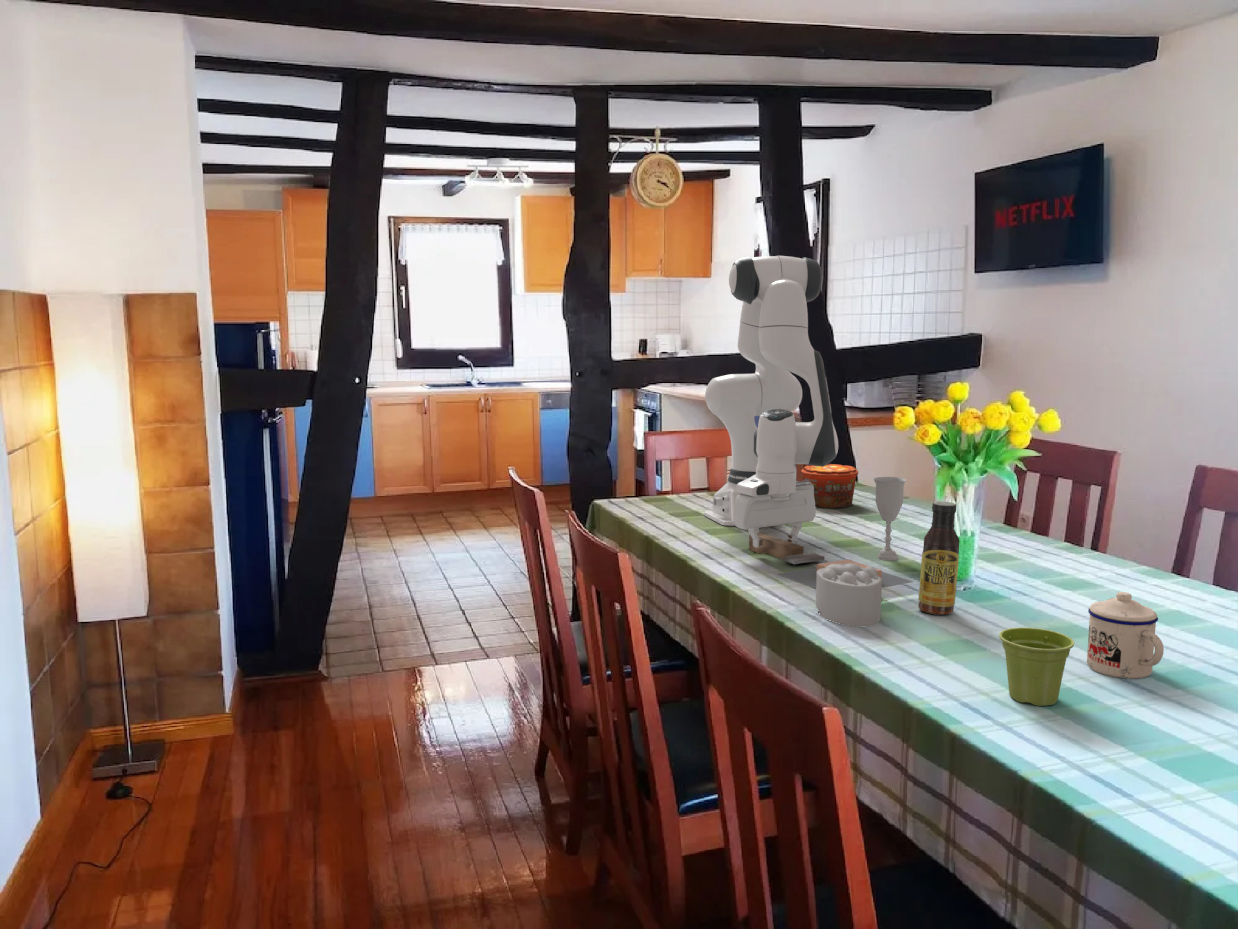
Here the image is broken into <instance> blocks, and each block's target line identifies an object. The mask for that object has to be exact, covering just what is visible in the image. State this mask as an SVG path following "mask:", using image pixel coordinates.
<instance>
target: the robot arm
mask: <svg viewBox="0 0 1238 929" xmlns="http://www.w3.org/2000/svg"><path fill="white" fill-rule="evenodd" d="M728 276H729V277H728V285H729V288H730V293H731V295H732V296H733V297H734V298H735V299H736V300H738V301H741V302H742V306H741V310H740V311H741V312H740V320H739V327H738V328H739V331H738V336H737V338H738V339H737V349H738V352H739V354H740V355H741V356H742V357H743V358H744V359H746V360H747V361H749V362H751V363H752V364H755V370H754V371H755V372H754V373H731V374H730V373H729V374H726V375H720V376H717V377H713V378H712V379H711V380H710V381H709V382H708V384H707V386H706V389H705V391H704V392H705V394H704V400H705V404H706V406H707V407H708V409H709V411H710V412H711V413H712V414H713V415H715V416H716V417H717V418H718V419H719V420H720V421H721V422H722V423H723V425H724V426H725V428H726V430H727V432H728V436H729V439H730V445H731V446H730V447H731V468H730V469H726V471H727V472H726V475H728V477H727V482H725V484H724V485H723V486H722V487H721V488H720V489H719V490H717V492H715V493H714V494H713V498H712V509H708V510H705V511H703V516H705V517H706V518H709V519H710V520H712V521H714V522H716V523H718V524H719V525H720V526H721V525H722V526H728V527H729V526H731V527H732V526H733V527H734V526H735V527H737V528H738V529H741V530H748V534H750V535H751V537H752V539H753V546H754V547H756V548H757V547H762V546H763V544H762V543H763V539H760V538H759V537H758V534H757V533H758V532H760V528H767V527H775V526H783V525H790V526H792V527H791V530H790V533H787V534H786V535H787V538H786V539H787V540H786V541H788V542H791V543H797V541H798V535H799V533H800V531H801V529H802V524H803V523H806V522H811V521H812V522H813V521H814V520H815V517H817V516H816V515H817V514H816V513H817V511H816V507H815V499H814V486H813V485H812V483H810V482H809V481H807V480H804V479H803V480H801V481H800V480H799V481H798V480H797V466H796V465H808V466H811V465H813V466H821V467H824V466H825V465H829V464H831V462H833V461H834V460H836V457H837V454H838V450H839V439H838V435H837V431H836V427H835V425H834V421H833V415H832V407H831V401H830V394H829V387H828V382H827V376H826V375H827V374H826V370H825V365H824V360H823V358H822V355H821V352H820V351H818V350H816V349H814V347H813V346H812V344H811V341H810V337H809V332H808V331H809V315H808V314H809V312H808V306H807V305H808V304H807V303H809V302H812V301H814V300H815V299H816V298H817V297H819V295H820V292H821V289H822V287H823V286H822V285H823V271H822V267H821V265H820V263H819V262H818V261H817V260H815V259H812V258H808V257H802V258H800V257H795V256H787V255H786V256H785V255H775V256H773V255H770V256H768V255H767V256H766V255H765V256H763V255H762V256H755V257H752V256H751V255H750V256H749V255H748V256H743V257H738V258H737V259H736V260H735V261H734V262H733V264H732V266H731V269H730V271H729V275H728ZM792 373H793V374H795V375H797V376H799V377H800V378H802V379H803V380H805V382H806V383H807V385H808V387H809V390H810V397H811V402H812V410H813V416H814V418H813V420H812V421H807V422H805V421H796V419H795V418H796V417H795V414H794V412H795V411H796V410H797V409H798V407H800V405H801V402H802V400H803V388H802V384H801V383H800V380H798V379H797V377H796V376H795V375H793V374H792ZM755 417H759V419H758V424H757V425H756V421H755ZM808 484H810V485H808Z"/></svg>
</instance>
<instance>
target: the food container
mask: <svg viewBox="0 0 1238 929" xmlns="http://www.w3.org/2000/svg"><path fill="white" fill-rule="evenodd" d="M800 471H801V472H800V474H801V475H803V481H804V480H807V481H809V482H810V483H812V485H813V486H814V499H815V508H822V509H844V508H848V507H851V506H852V505H853V499H854V493H855V486H856V481H857V480H856V479H857V475H859V471H858V469H857V468H856V467H854V466H851V465H842V464H835V463H833V464H832V463H829V464H827V465H825V466H824V467H821V466H813V465H805V466H804V467H803V468H802V469H801V470H800ZM808 485H810V484H808Z"/></svg>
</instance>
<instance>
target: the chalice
mask: <svg viewBox="0 0 1238 929" xmlns="http://www.w3.org/2000/svg"><path fill="white" fill-rule="evenodd" d="M873 481H874V483H875V499H874V501H875V504H876V508H877V511H878V513H879V515H880V518H881V520H882V521H884V522H885V525H886V527H885V529H884V531H885V534H886V535H885V537H883V539H884V541H885V545H884V548H882V549H880V550H879V551H878V554H877V557H876V558H877V559H878V560H881V561H882V560H883V561H896V560H899V558H898V557H899V556H898V555H897V552H896V550H895V549H892V547H891V541H892V540H893V538H892V537H891V533H892V531H893V530H892V527H891V526H892V525H891V524H892V522H894V521H896V519H897V517H898V515H899V513H900V512H901V509H902V506H903V504H904V487H905V484H906V482H907V479H906V478H903V477H896V476H877V477H874V478H873Z"/></svg>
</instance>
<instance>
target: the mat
mask: <svg viewBox="0 0 1238 929" xmlns="http://www.w3.org/2000/svg"><path fill="white" fill-rule="evenodd" d="M777 575H779V576H781V577H783V578H786V579H789V580H791V581H794V582H796V583H799V584H802V585H805V586H807V587H809V588H813V589H815V590H816V578H817V567H813V568H806V569H799V570H794V571H792V570H791V571H787V572H781V573H777ZM881 579H882V588H887V587H892V586H897V585H903V584H908V583H909V584H910V583H913V582H914V581H913V580H910V579H906V578H903V577H901V576H897V575H895V574H892V573H887V572H884V571H882V572H881Z"/></svg>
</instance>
